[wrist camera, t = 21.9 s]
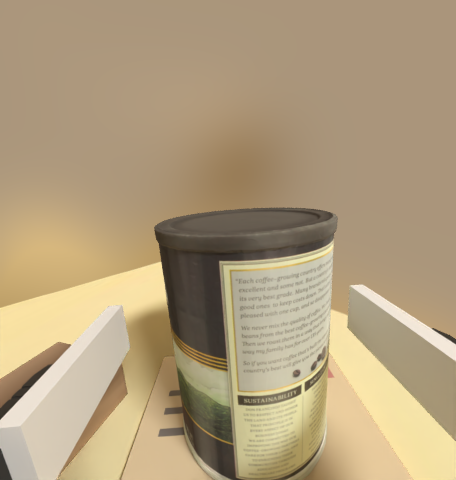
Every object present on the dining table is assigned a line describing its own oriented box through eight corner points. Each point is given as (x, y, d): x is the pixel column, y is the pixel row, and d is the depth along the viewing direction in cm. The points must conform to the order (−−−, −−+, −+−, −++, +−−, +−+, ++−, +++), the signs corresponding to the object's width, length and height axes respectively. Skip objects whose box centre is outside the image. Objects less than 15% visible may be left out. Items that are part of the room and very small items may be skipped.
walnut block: (-37, 465, 14) (-58, 416, 14) (68, 379, 21) (58, 341, 20) (35, 507, 12) (15, 451, 11) (128, 396, 19) (119, 355, 18)
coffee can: (152, 469, 13) (107, 234, 10) (211, 348, 23) (197, 210, 20) (346, 531, 10) (366, 230, 7) (319, 363, 20) (323, 204, 17)
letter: (104, 532, 11) (103, 527, 11) (164, 359, 22) (164, 356, 22) (426, 505, 11) (427, 501, 11) (324, 347, 22) (324, 344, 22)
